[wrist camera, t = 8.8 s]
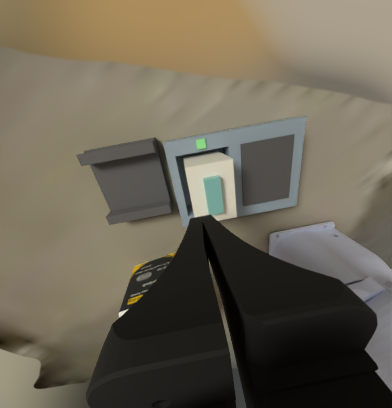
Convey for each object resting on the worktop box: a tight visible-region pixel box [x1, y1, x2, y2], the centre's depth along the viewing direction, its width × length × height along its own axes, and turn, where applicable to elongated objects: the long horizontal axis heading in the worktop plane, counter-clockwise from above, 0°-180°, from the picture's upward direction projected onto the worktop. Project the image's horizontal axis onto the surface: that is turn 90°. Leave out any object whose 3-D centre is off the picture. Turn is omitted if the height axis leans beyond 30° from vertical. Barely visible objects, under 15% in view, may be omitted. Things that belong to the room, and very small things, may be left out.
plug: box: [183, 150, 237, 221], centre depth 15 cm, size 4×5×7 cm
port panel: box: [163, 116, 307, 228], centre depth 17 cm, size 13×9×3 cm
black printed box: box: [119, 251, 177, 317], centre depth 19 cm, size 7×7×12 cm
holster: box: [76, 138, 173, 225], centre depth 17 cm, size 7×8×2 cm
